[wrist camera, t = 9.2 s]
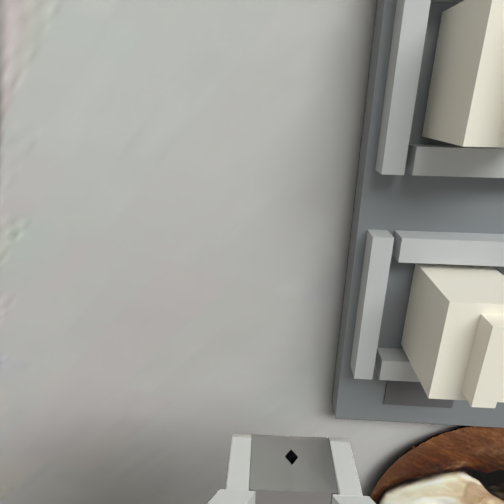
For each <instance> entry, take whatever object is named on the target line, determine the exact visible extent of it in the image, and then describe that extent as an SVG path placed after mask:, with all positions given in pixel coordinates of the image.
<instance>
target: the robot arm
mask: <svg viewBox="0 0 504 504" xmlns="http://www.w3.org/2000/svg"><path fill="white" fill-rule="evenodd" d="M207 504H376V503H375V502H374V501H373V500H372V499H371V498H370V497H369V496H363V494H362V490H361V486H360V481H359V477H358V473H357V469H356V465H355V461H354V456H353V452H352V448H351V444H350V441H349V440H348V438H324V437H293V436H290V437H287V436H272V435H257V434H252V435H251V434H237V433H233V434H232V437H231V444H230V453H229V461H228V470H227V479H226V487H225V489H219V490H218V491H217V492H216V494H215V495H214V496H213V497H212V498H211V500H210V501H209V502H208V503H207Z"/></svg>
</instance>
